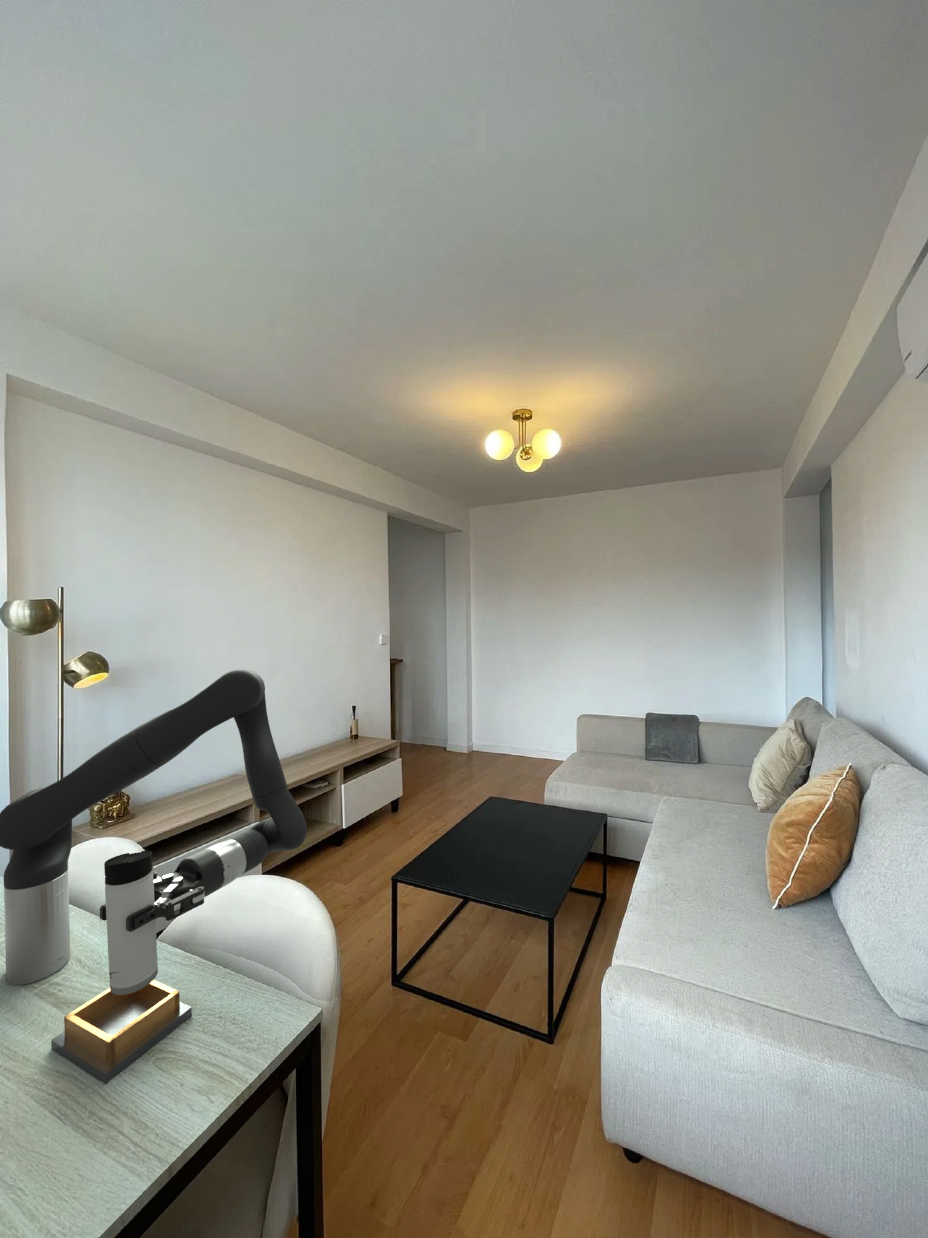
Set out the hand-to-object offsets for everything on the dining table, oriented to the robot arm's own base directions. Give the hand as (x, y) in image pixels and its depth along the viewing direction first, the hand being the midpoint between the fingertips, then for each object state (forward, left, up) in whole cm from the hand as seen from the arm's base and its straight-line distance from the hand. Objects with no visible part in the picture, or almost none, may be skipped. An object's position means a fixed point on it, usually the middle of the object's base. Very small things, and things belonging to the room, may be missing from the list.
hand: (114, 919), depth 75 cm
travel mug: (0, +2, -11) cm, 11 cm away
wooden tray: (-2, +2, -19) cm, 20 cm away
